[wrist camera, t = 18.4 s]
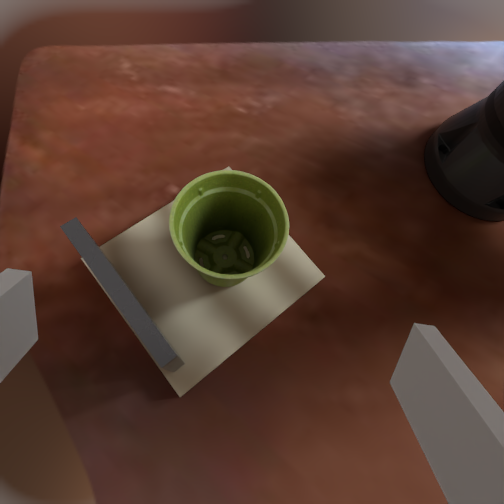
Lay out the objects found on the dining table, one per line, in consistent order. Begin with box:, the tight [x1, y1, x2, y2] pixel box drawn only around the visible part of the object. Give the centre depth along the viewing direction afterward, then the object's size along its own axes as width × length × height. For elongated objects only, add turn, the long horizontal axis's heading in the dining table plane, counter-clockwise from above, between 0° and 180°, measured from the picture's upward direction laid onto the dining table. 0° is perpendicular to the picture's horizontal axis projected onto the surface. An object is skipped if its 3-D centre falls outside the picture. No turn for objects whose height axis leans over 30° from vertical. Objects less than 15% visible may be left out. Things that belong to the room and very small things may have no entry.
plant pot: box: [169, 170, 289, 287], centre depth 32 cm, size 9×9×9 cm
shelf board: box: [81, 167, 325, 397], centre depth 36 cm, size 18×16×2 cm
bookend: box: [60, 218, 185, 372], centre depth 28 cm, size 1×12×10 cm, turn 40°
